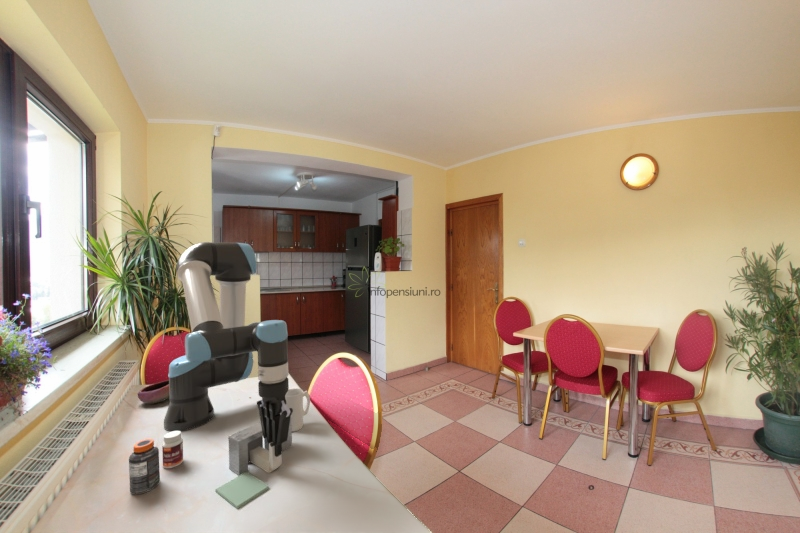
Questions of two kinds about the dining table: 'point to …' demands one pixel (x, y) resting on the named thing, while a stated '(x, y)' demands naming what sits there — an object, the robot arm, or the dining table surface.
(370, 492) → the dining table surface
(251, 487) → the mat
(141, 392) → the bowl
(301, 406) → the mug
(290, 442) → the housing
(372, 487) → the dining table surface
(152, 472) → the pill bottle
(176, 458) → the pill bottle
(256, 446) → the plug
